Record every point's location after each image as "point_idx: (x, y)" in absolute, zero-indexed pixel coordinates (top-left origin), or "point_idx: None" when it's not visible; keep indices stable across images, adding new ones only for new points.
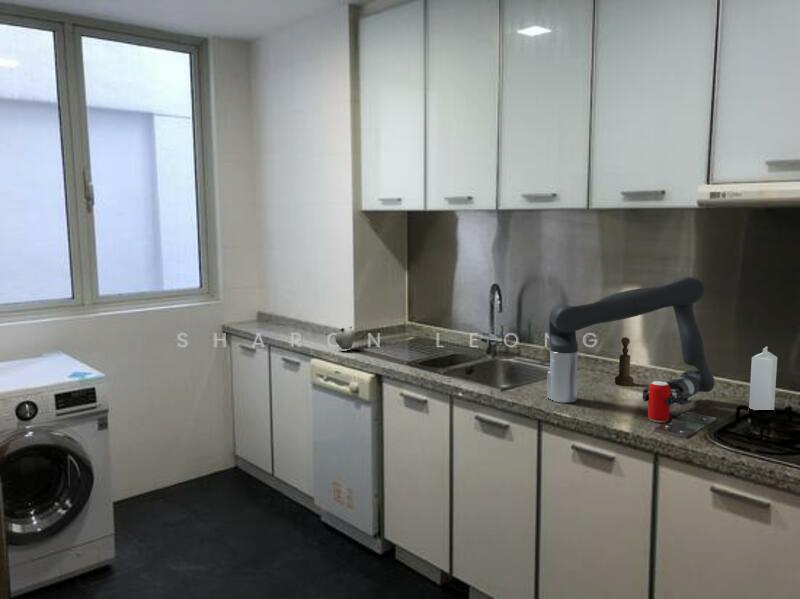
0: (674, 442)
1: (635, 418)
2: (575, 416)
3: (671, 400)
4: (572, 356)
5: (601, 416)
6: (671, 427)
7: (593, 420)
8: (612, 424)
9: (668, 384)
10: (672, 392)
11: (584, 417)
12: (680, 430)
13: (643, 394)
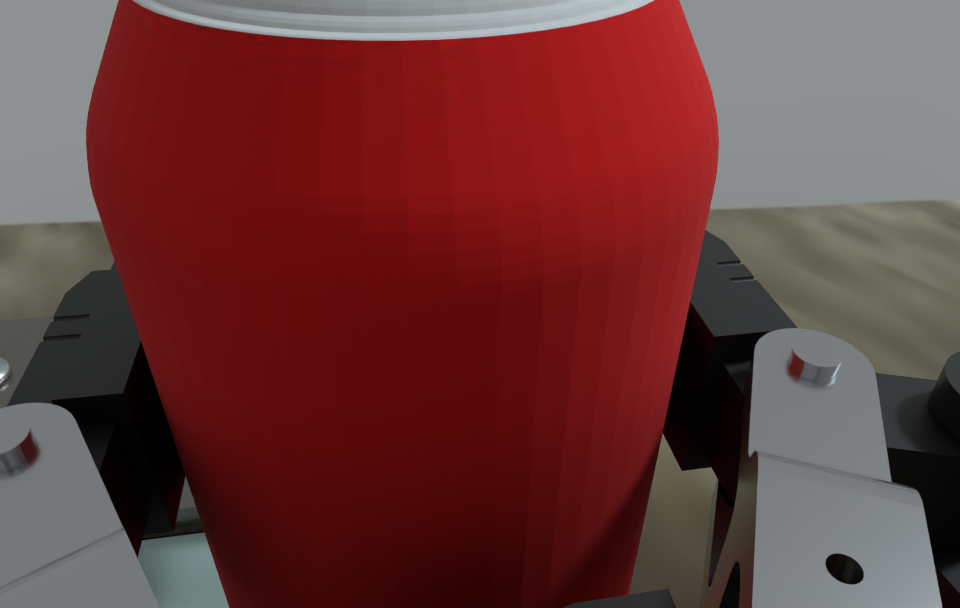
0: (49, 246)
1: (697, 505)
2: (947, 219)
3: (86, 285)
4: None
5: (898, 325)
6: None
7: (795, 233)
8: None
9: (126, 5)
10: (121, 552)
11: (901, 238)
12: (6, 403)
13: (726, 247)
